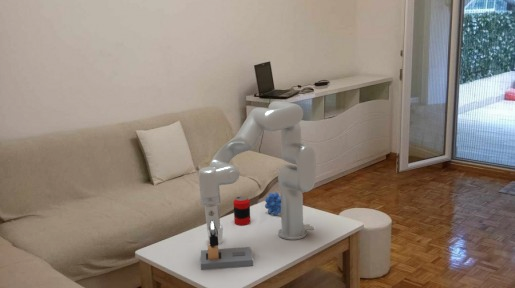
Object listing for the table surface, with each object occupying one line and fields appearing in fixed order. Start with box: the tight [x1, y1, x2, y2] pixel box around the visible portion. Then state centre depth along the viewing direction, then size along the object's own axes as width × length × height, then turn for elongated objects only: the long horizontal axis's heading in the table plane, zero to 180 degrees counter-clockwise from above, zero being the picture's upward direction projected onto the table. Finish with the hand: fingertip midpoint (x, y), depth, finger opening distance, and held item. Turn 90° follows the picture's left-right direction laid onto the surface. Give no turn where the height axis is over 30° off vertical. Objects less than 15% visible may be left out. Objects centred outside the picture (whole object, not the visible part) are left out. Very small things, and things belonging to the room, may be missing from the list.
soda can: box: [233, 196, 251, 226], centre depth 235 cm, size 8×8×12 cm
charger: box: [207, 244, 220, 260], centre depth 196 cm, size 4×4×8 cm
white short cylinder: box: [206, 224, 224, 245], centre depth 215 cm, size 7×7×7 cm
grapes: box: [264, 192, 281, 216], centre depth 243 cm, size 12×7×12 cm, turn 51°
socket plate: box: [200, 246, 254, 271], centre depth 197 cm, size 20×12×3 cm, turn 96°
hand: (214, 240), depth 195 cm, fingers open, 9 cm apart
